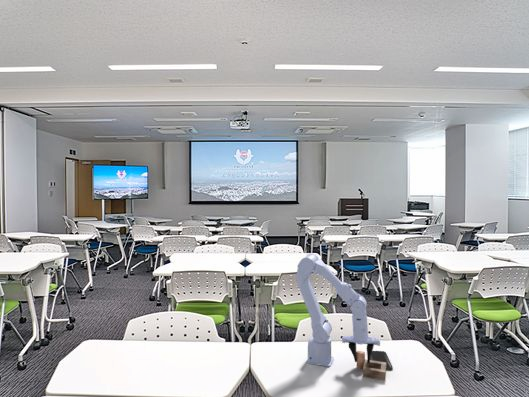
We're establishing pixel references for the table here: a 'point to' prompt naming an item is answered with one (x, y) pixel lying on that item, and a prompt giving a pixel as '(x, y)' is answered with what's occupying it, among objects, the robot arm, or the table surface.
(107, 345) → the table surface
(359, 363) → the peg
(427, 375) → the table surface
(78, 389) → the table surface
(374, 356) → the phone
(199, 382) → the table surface
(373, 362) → the socket block
